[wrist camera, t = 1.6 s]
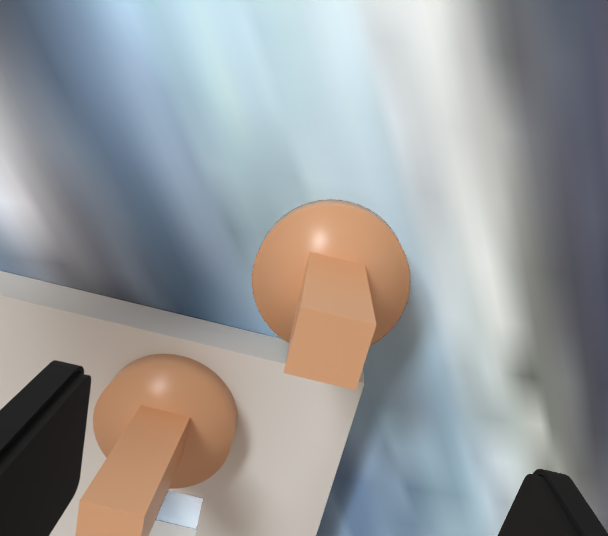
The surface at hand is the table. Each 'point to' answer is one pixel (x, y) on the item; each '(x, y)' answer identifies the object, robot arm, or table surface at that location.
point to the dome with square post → (330, 287)
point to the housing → (179, 415)
